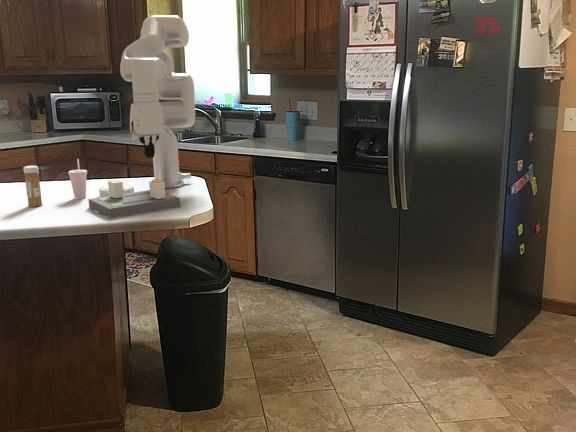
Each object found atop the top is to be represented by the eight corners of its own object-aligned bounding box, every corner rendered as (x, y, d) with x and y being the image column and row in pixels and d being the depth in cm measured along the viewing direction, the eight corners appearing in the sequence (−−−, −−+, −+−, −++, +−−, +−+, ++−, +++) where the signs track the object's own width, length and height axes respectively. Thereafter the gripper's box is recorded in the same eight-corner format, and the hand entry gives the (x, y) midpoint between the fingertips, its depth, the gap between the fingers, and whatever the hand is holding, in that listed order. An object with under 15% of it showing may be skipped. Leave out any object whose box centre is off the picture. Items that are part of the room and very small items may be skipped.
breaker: (117, 194, 208) (116, 179, 207) (123, 197, 204) (122, 182, 203) (109, 195, 206) (107, 181, 205) (115, 198, 203) (113, 183, 201)
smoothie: (83, 200, 216) (80, 160, 212) (67, 199, 217) (63, 160, 214) (93, 196, 222) (89, 157, 218) (76, 195, 223) (72, 157, 220)
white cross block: (95, 199, 218) (94, 189, 217) (106, 192, 230) (105, 182, 229) (128, 199, 217) (127, 189, 217) (138, 192, 229) (137, 182, 228)
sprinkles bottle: (42, 206, 207) (38, 166, 204) (28, 208, 206) (23, 167, 202) (42, 203, 211) (37, 164, 208) (27, 205, 210) (22, 165, 206)
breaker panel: (156, 197, 219) (155, 188, 218) (180, 206, 205) (179, 197, 204) (89, 207, 205) (88, 198, 204) (110, 218, 191) (109, 208, 190)
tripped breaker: (158, 195, 206) (157, 178, 205) (165, 197, 203) (164, 180, 201) (150, 196, 205) (149, 179, 203) (156, 199, 201) (155, 182, 199)
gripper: (162, 97, 202) (165, 153, 206) (118, 99, 193) (123, 158, 198) (172, 98, 196) (176, 155, 201) (128, 100, 187) (132, 160, 192)
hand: (149, 156), depth 199 cm, fingers closed
